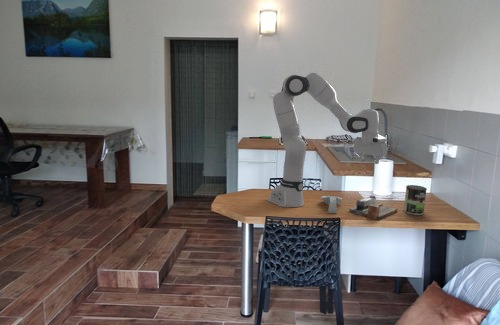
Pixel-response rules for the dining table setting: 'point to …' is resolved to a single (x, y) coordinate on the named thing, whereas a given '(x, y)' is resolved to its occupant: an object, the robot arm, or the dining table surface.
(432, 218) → the dining table surface
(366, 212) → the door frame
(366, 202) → the latch bar
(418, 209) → the coffee can
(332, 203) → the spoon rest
